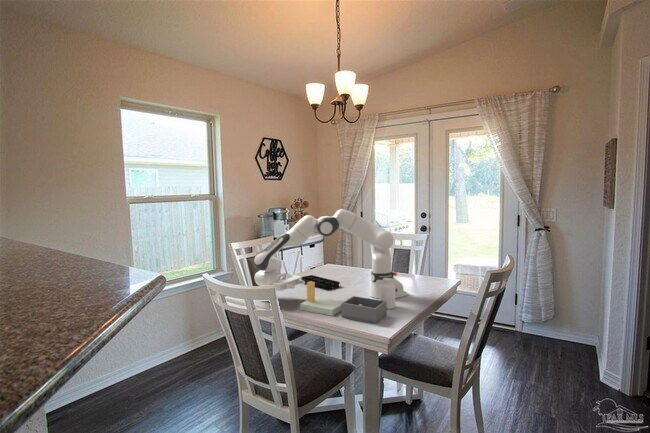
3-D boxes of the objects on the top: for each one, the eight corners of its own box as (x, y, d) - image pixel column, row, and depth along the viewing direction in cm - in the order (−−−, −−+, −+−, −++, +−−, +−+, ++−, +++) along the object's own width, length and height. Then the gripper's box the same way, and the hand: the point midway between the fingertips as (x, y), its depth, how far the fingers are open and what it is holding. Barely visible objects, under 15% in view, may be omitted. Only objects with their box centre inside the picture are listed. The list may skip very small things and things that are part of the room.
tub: (386, 315, 175) (386, 301, 174) (375, 323, 163) (375, 308, 163) (353, 309, 184) (353, 296, 183) (341, 317, 173) (341, 302, 172)
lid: (346, 307, 187) (345, 283, 186) (332, 315, 175) (332, 289, 174) (315, 301, 197) (314, 278, 196) (300, 309, 185) (299, 284, 184)
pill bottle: (393, 304, 191) (393, 276, 190) (396, 309, 183) (396, 280, 182) (378, 304, 191) (378, 277, 190) (381, 309, 183) (381, 280, 182)
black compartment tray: (308, 279, 249) (308, 274, 249) (345, 285, 232) (345, 279, 232) (292, 285, 235) (292, 279, 234) (330, 292, 218) (330, 286, 217)
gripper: (266, 280, 191) (287, 283, 184) (289, 272, 208) (309, 275, 201) (266, 291, 191) (287, 295, 184) (289, 283, 209) (309, 286, 202)
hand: (299, 284), depth 193 cm, fingers open, 8 cm apart
